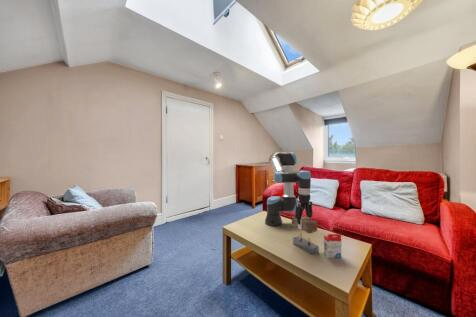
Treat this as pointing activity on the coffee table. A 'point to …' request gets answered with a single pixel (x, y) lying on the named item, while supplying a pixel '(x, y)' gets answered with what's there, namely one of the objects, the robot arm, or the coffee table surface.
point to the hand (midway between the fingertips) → (303, 227)
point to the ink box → (332, 245)
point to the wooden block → (305, 224)
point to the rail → (306, 244)
